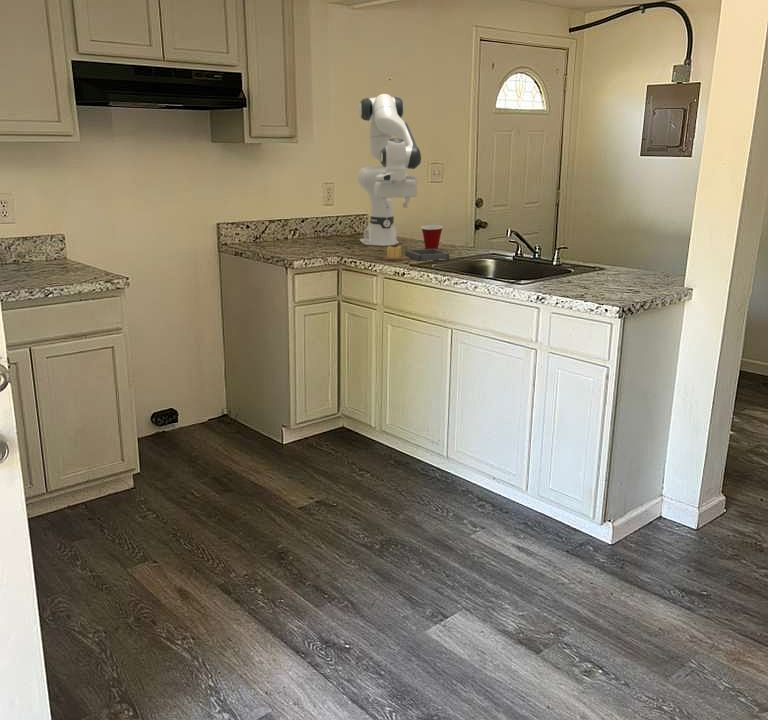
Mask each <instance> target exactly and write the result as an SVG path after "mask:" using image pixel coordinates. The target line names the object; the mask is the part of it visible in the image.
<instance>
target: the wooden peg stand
mask: <svg viewBox="0 0 768 720" xmlns="http://www.w3.org/2000/svg"><path fill="white" fill-rule="evenodd" d="M390 246H391V247H394V248H395V247H397V246H398V245H397V244H395V245H390ZM377 257H378V259H380V260H381V259H382V260H384V261H386V262H399V261H410V260H411V258H409V257H407V256H406V255H404V254H401V257H398V258H391V257H387V254H378V256H377Z"/></svg>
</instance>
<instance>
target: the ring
mask: <svg viewBox="0 0 768 720" xmlns="http://www.w3.org/2000/svg"><path fill="white" fill-rule="evenodd" d="M386 255H387V257H391V258H398V257H401V255H402V246H400V245H397V247H395V248H394V247H391V245H387V249H386Z"/></svg>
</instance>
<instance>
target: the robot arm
mask: <svg viewBox="0 0 768 720" xmlns="http://www.w3.org/2000/svg"><path fill="white" fill-rule="evenodd" d="M404 111H405V105H404V101H403V100H402V98H401V97H397V96H391V95H390V94H388V93H381V94H379V95H378V96H376V97H365V98H363V99H361V100H360V103H359V105H358V113H359V116H360V118H361V119H362V120H363V121H366V122H369V121H370V123H369V124H370V125H369V148H370V149H369V150H370V151H369V152H370V154H371V157H373V158H375V159H377V160H378V161H379V162H380V164H381V165H370V166H365V167H362V168H360V169H359V171H358V173H357V182H358V184H359V185H360V187H361V188H362V189H364V190H365V192H367V194H368V196H369V200H370V204H371V206H370V208H371V216H369V217H370V218H369V224H368V225H367V227H366V228H365V230H362V235H363V237H362V238H360V239H359V242H361V243H362V244H363V245H366V246H383V247H385V246H391V245H397V244H399V243H400V242H399V240H397V239H398V238H397V227H396V226H395V225H394V223H395V217H394V201H393V199H392V198H404V199H405V202H403V203H402V208H408V205H409V203H410V200H411V198H416V197H417V196H418V187H417V186H418V185H417V184H418V179H417V178H416V177H415V176H414V175H411V176H410V175H408V173H407V170H409V169H410V170H415V169H416V168H418V166H420V164H421V161H422V154H421V151H420V149H419V147H418V145H417V144H416V141H415V139H414V136H413V134H412V132H411V129H410V127H409V125H408V122H406V121H405V120H403V115H404V113H405V112H404ZM392 136H395V137H396V138H393V137H392Z"/></svg>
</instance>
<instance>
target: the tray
mask: <svg viewBox="0 0 768 720" xmlns="http://www.w3.org/2000/svg"><path fill="white" fill-rule="evenodd" d="M405 256H407V257H409V258H410V260H414V261H416V260H417V261H416V262H419V261H425V262H428V261H427V260H439V259H449V260H450V253H449V252H445V251H444V250H443V251H442V250H440V249H438V250H437V249H425V248H422V249H406V250H405Z"/></svg>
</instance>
